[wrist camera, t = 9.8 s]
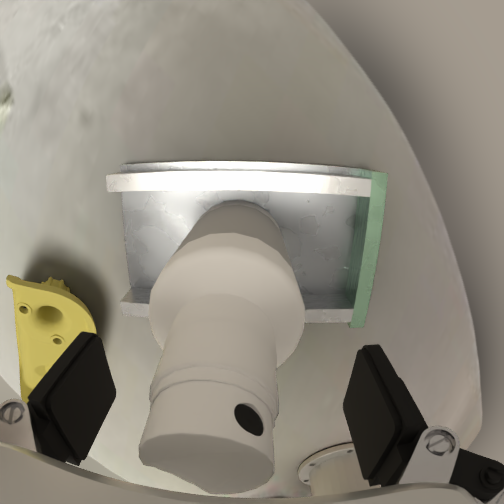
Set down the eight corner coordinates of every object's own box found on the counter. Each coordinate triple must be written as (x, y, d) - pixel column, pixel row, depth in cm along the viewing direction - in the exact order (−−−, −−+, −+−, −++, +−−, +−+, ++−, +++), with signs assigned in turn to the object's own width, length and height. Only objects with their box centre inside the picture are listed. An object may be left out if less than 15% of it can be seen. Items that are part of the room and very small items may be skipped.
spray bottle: (300, 240, 23) (395, 450, 6) (241, 300, 24) (227, 523, 7) (232, 179, 21) (157, 304, 4) (174, 247, 23) (49, 440, 6)
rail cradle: (351, 306, 26) (363, 327, 22) (137, 300, 26) (123, 320, 22) (369, 169, 22) (387, 173, 19) (125, 164, 22) (105, 167, 18)
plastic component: (87, 416, 29) (14, 403, 24) (85, 370, 34) (19, 358, 29) (105, 302, 22) (-7, 277, 16) (107, 252, 27) (16, 230, 22)
